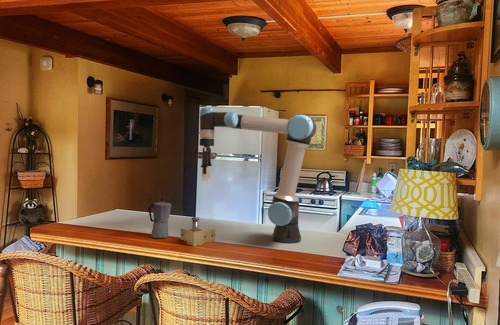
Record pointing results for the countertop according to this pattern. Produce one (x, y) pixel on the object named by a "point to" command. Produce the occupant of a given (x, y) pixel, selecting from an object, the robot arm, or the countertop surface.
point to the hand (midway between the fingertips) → (206, 179)
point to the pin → (195, 223)
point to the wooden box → (197, 236)
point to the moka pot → (160, 218)
